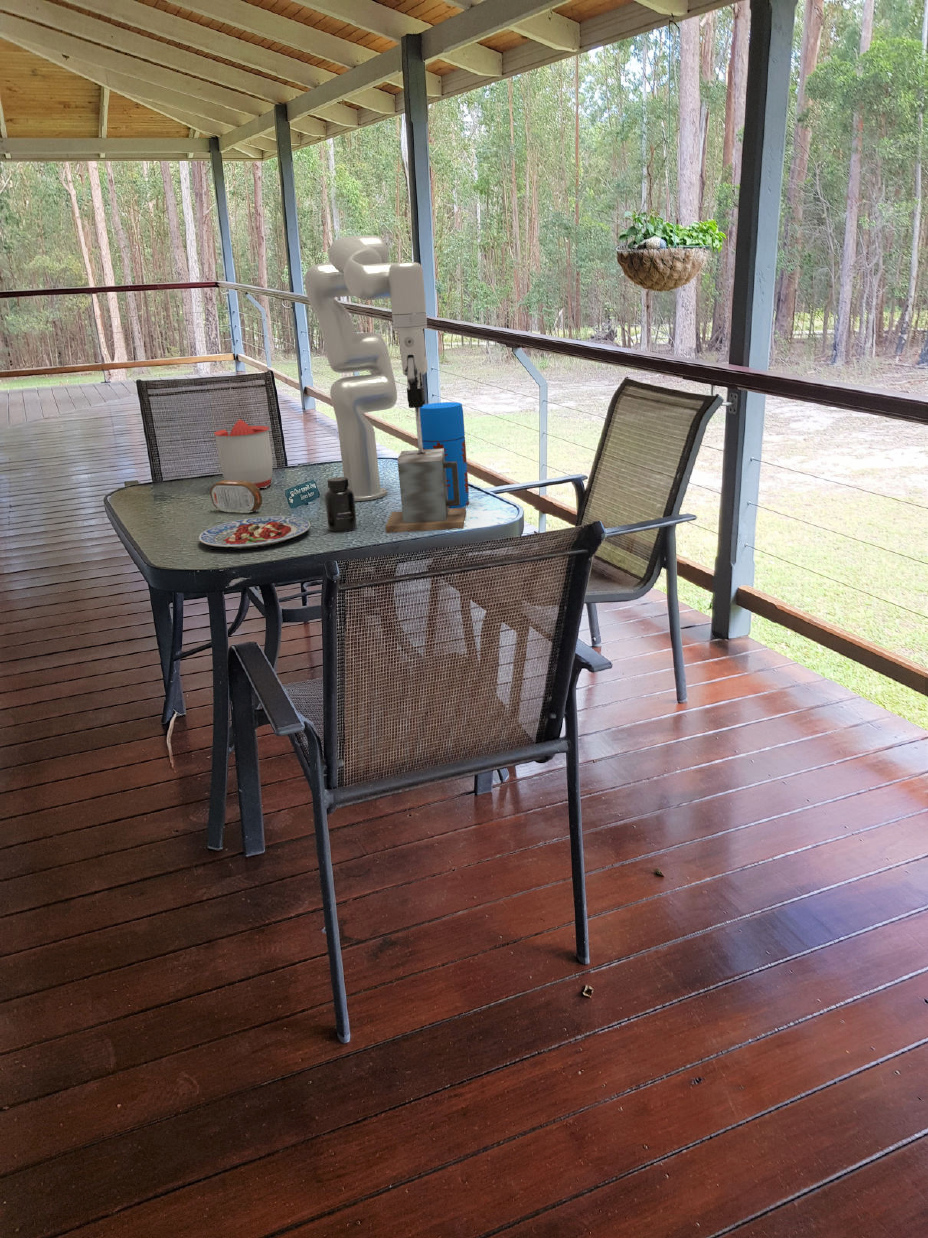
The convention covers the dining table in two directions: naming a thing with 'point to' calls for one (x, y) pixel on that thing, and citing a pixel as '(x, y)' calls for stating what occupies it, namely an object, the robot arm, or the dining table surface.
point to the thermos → (447, 441)
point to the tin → (236, 495)
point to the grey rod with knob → (419, 423)
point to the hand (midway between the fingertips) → (416, 405)
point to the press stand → (426, 493)
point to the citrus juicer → (245, 454)
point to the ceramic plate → (256, 531)
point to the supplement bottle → (340, 505)
